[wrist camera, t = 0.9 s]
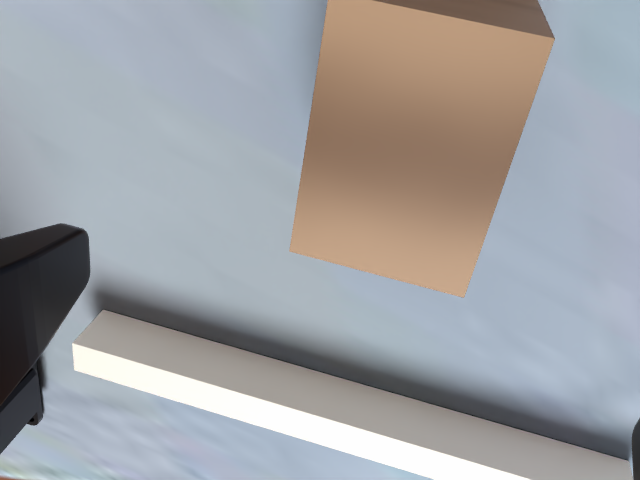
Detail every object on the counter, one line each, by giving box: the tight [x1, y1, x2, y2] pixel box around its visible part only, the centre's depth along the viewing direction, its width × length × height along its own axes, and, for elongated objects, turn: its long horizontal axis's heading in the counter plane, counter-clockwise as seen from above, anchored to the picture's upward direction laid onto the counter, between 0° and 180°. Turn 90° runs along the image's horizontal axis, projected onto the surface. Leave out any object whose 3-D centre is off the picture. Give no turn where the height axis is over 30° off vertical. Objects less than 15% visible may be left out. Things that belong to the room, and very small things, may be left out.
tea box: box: [290, 0, 555, 298], centre depth 18 cm, size 7×5×6 cm
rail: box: [72, 310, 633, 480], centre depth 26 cm, size 24×2×2 cm, turn 81°
